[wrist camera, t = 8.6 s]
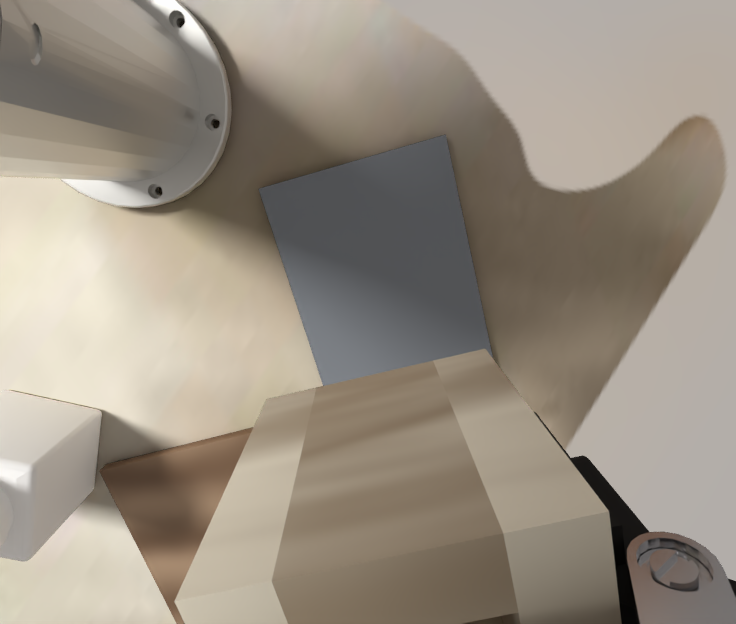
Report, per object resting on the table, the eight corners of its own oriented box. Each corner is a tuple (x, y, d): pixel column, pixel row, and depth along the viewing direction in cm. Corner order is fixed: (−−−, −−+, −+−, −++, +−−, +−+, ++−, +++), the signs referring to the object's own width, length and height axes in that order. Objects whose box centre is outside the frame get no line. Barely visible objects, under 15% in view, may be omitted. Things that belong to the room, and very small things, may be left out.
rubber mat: (260, 188, 28) (258, 188, 27) (443, 135, 27) (445, 134, 27) (339, 430, 33) (339, 435, 32) (498, 391, 32) (500, 395, 31)
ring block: (266, 399, 12) (174, 601, 6) (485, 348, 11) (609, 511, 6) (325, 571, 13) (297, 860, 8) (518, 530, 13) (641, 801, 7)
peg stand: (105, 464, 33) (58, 514, 28) (306, 413, 32) (295, 456, 27) (184, 621, 37) (155, 689, 32) (364, 581, 36) (364, 644, 31)
